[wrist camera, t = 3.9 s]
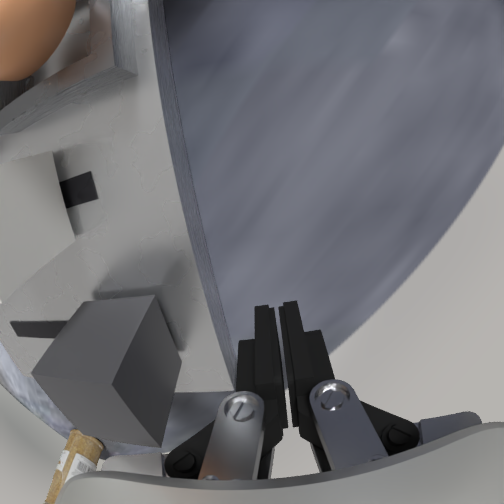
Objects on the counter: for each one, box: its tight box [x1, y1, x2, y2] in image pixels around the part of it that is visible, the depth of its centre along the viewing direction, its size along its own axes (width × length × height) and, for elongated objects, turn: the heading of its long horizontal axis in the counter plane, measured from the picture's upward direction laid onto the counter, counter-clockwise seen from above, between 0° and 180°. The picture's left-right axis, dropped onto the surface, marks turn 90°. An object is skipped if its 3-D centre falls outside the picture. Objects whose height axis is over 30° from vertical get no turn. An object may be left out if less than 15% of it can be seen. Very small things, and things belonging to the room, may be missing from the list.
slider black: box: [31, 295, 182, 448], centre depth 10 cm, size 4×4×5 cm
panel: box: [0, 0, 236, 392], centre depth 10 cm, size 18×24×4 cm
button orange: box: [0, 0, 76, 81], centre depth 4 cm, size 4×4×3 cm
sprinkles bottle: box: [43, 429, 104, 504], centre depth 18 cm, size 5×5×14 cm
